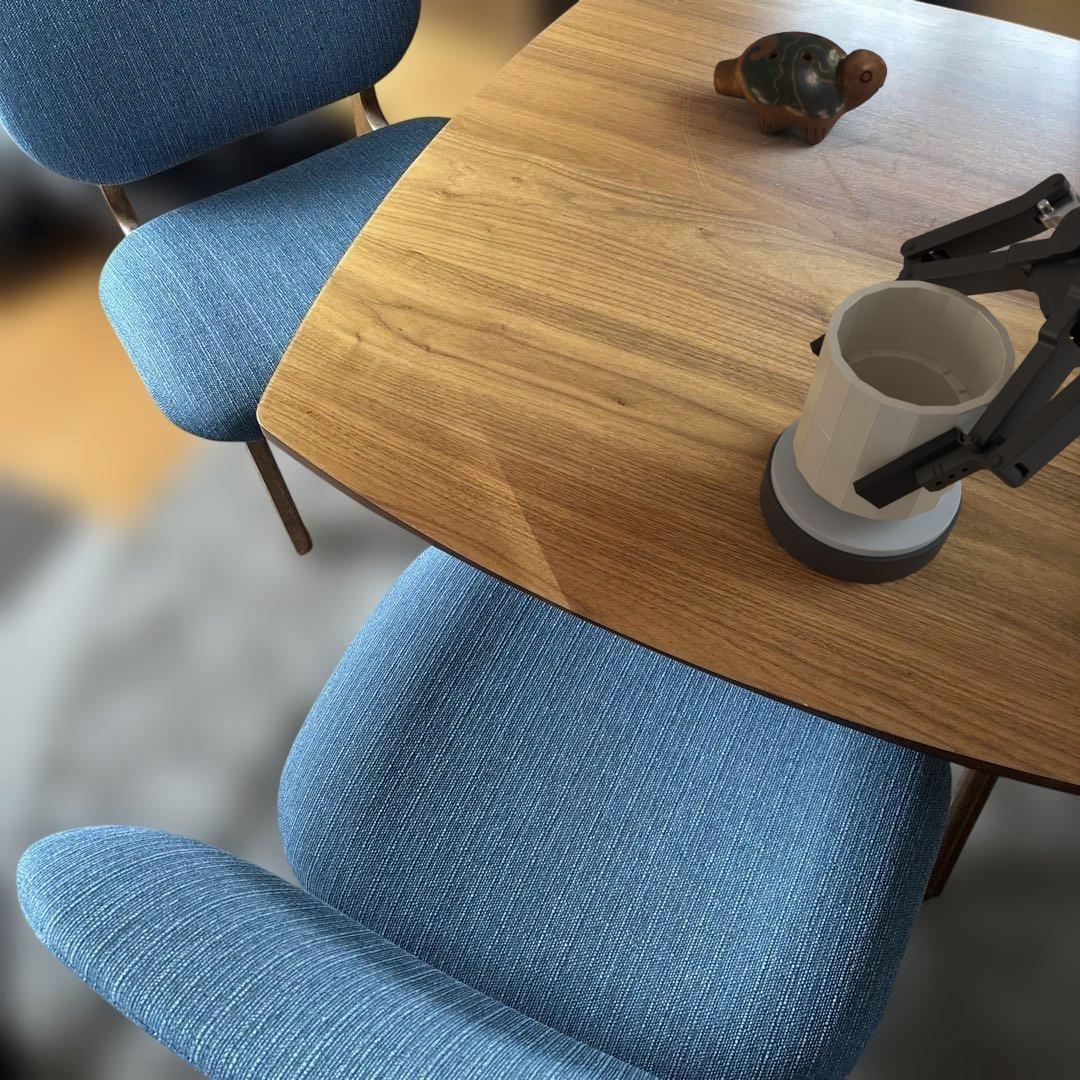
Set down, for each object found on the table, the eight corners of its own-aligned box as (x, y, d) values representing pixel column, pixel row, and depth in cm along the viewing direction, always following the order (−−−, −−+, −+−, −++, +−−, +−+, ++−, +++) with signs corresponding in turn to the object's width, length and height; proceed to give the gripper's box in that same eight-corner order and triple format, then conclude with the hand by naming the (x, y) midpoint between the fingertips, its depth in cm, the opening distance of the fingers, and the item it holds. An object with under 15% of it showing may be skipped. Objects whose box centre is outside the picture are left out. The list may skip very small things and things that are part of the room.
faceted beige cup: (985, 495, 66) (1053, 379, 57) (845, 548, 64) (893, 437, 55) (894, 384, 72) (944, 261, 62) (762, 429, 70) (794, 310, 60)
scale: (987, 545, 70) (1007, 514, 67) (821, 610, 67) (833, 581, 64) (881, 410, 77) (894, 377, 74) (726, 465, 74) (733, 432, 71)
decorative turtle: (868, 164, 92) (886, 84, 86) (701, 147, 96) (704, 69, 89) (880, 97, 97) (898, 16, 90) (720, 82, 100) (725, 3, 94)
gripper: (1357, 406, 48) (924, 601, 60) (1154, 107, 60) (831, 319, 73) (1316, 332, 43) (857, 559, 56) (1106, 25, 56) (770, 266, 68)
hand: (842, 423), depth 64 cm, fingers closed on faceted beige cup, 11 cm apart
